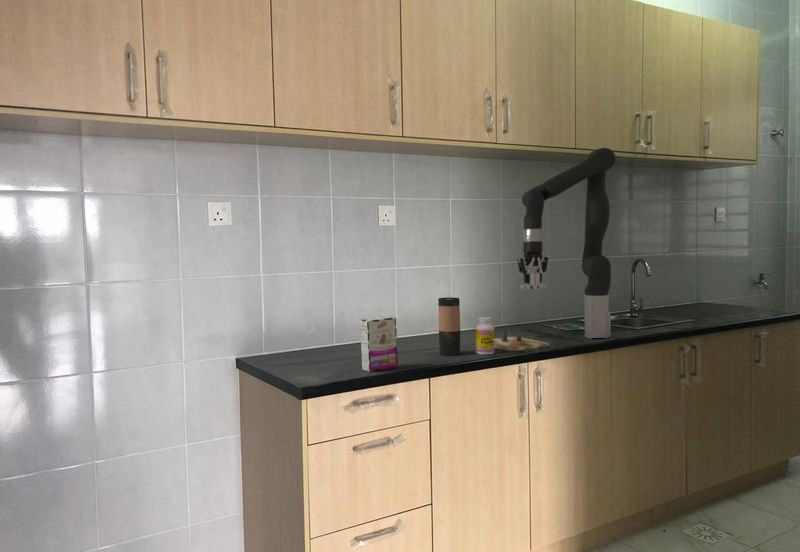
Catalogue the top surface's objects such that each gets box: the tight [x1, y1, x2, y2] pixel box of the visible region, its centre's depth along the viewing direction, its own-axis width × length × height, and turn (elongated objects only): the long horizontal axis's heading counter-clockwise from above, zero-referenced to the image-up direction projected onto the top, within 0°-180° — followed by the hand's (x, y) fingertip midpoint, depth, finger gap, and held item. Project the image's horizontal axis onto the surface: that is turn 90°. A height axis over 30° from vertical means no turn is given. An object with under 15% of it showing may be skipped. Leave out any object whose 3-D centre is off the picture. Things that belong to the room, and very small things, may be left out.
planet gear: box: [519, 271, 547, 290], centre depth 253 cm, size 10×10×6 cm
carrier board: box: [494, 329, 550, 352], centre depth 244 cm, size 18×21×6 cm
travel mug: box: [437, 296, 461, 357], centre depth 227 cm, size 8×8×20 cm
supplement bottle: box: [474, 316, 495, 356], centre depth 227 cm, size 7×7×13 cm
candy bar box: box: [359, 315, 399, 373], centre depth 205 cm, size 11×5×16 cm, turn 126°
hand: (532, 283), depth 254 cm, fingers closed on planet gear, 5 cm apart
